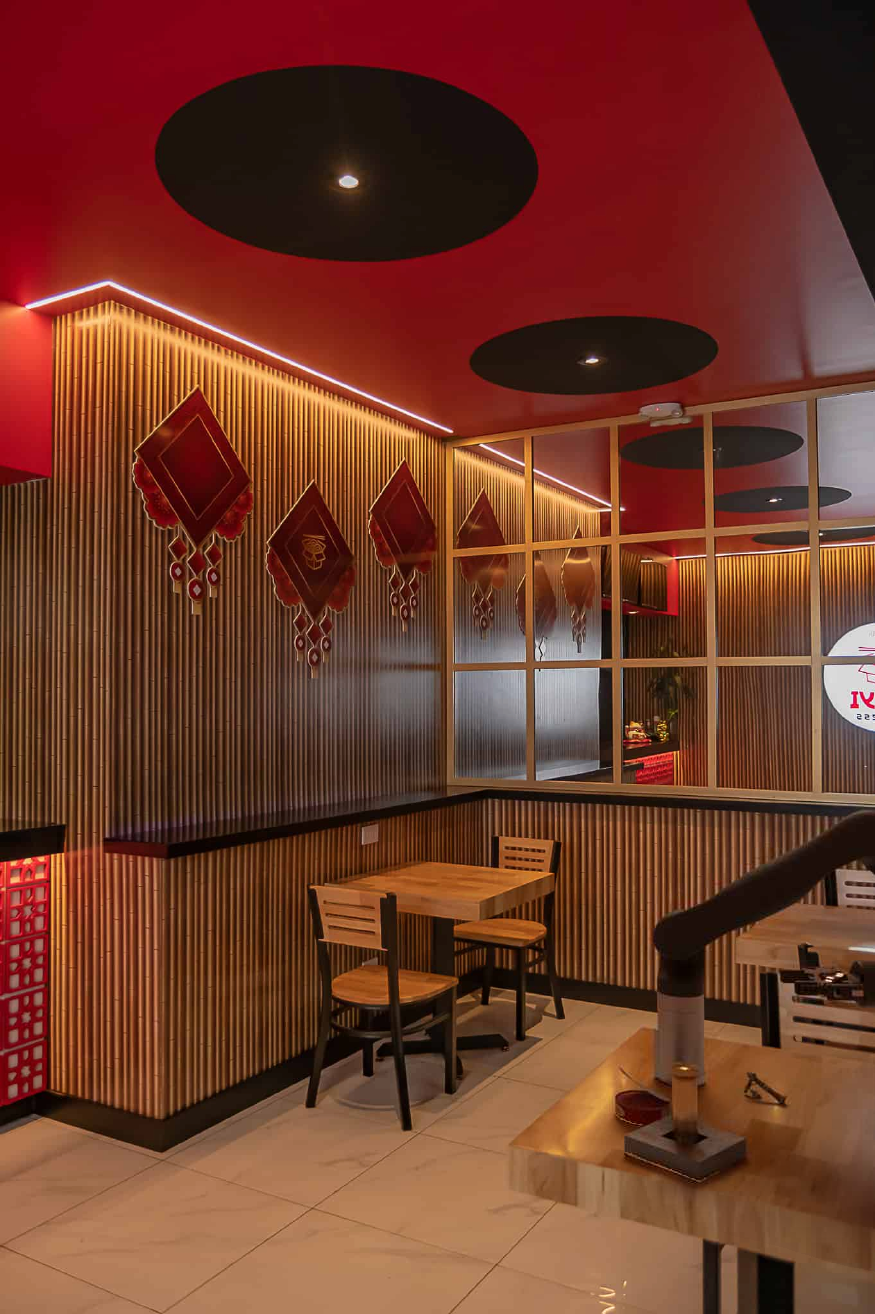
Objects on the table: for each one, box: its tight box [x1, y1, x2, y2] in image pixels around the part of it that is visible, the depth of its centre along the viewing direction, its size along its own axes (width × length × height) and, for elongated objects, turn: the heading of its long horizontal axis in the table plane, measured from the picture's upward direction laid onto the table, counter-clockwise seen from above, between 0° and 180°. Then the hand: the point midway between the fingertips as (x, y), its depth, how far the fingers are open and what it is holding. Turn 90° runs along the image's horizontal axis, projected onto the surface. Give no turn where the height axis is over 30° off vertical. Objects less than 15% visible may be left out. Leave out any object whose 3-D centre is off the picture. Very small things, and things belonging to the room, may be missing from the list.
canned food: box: [614, 1066, 671, 1125], centre depth 174 cm, size 11×10×10 cm
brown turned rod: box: [743, 1071, 788, 1106], centre depth 183 cm, size 2×8×4 cm, turn 47°
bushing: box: [669, 1062, 700, 1147], centre depth 157 cm, size 5×5×14 cm
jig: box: [623, 1113, 747, 1181], centre depth 157 cm, size 14×14×3 cm
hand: (787, 982), depth 164 cm, fingers open, 8 cm apart
